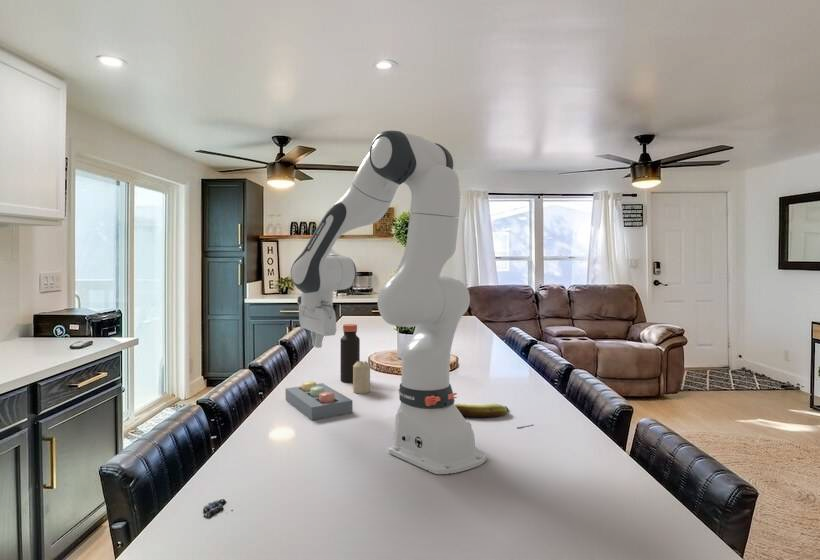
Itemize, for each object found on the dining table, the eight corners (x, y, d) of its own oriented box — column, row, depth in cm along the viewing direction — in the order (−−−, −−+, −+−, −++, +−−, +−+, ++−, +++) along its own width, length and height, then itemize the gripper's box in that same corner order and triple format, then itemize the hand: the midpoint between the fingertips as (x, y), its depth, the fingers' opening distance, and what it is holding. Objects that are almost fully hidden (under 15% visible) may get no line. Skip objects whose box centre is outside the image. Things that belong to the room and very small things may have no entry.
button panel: (352, 412, 130) (352, 400, 130) (311, 420, 123) (311, 407, 123) (322, 393, 148) (322, 383, 148) (285, 399, 142) (285, 388, 142)
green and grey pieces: (423, 435, 115) (423, 420, 114) (415, 402, 142) (415, 390, 142) (560, 432, 117) (561, 417, 117) (526, 400, 144) (527, 388, 144)
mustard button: (318, 393, 141) (318, 383, 141) (304, 395, 139) (304, 385, 139) (313, 390, 144) (312, 380, 144) (300, 392, 142) (299, 382, 142)
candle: (371, 389, 154) (371, 359, 154) (368, 394, 148) (368, 363, 148) (355, 388, 154) (355, 359, 154) (351, 393, 149) (351, 362, 149)
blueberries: (244, 503, 82) (244, 492, 83) (227, 524, 74) (227, 512, 75) (206, 503, 82) (206, 492, 82) (185, 525, 74) (185, 513, 74)
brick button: (336, 405, 129) (336, 394, 129) (322, 407, 127) (322, 397, 127) (330, 401, 133) (330, 391, 133) (317, 403, 130) (316, 393, 130)
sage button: (327, 399, 135) (327, 389, 135) (313, 401, 133) (313, 391, 133) (321, 395, 139) (321, 385, 139) (308, 397, 136) (308, 387, 136)
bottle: (338, 379, 167) (338, 324, 167) (356, 377, 170) (356, 323, 169) (343, 383, 161) (343, 326, 160) (362, 381, 164) (362, 325, 163)
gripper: (342, 302, 128) (341, 351, 128) (314, 297, 145) (314, 340, 145) (320, 303, 124) (320, 354, 125) (295, 297, 141) (295, 342, 142)
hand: (317, 346), depth 135 cm, fingers closed
